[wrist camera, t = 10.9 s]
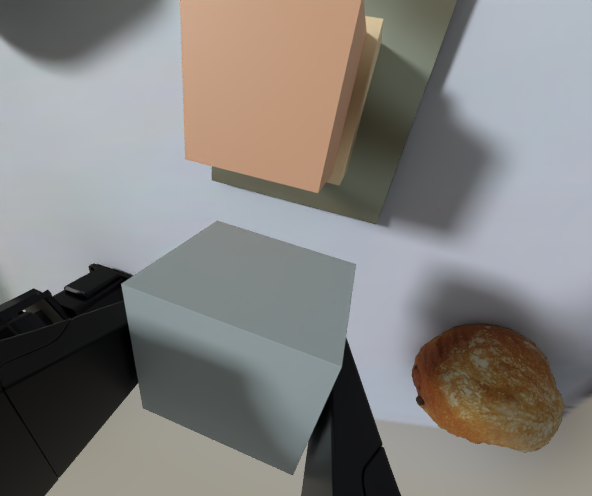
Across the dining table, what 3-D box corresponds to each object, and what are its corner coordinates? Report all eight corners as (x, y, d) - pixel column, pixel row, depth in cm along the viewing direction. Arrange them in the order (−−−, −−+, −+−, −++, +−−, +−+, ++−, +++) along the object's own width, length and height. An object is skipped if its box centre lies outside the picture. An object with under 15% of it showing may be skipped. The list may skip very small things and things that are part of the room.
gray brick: (319, 361, 11) (292, 475, 7) (212, 321, 12) (143, 407, 8) (356, 264, 8) (341, 366, 5) (217, 220, 9) (121, 283, 6)
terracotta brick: (332, 174, 14) (317, 193, 10) (229, 149, 15) (185, 159, 11) (366, 32, 11) (362, -7, 7) (236, 12, 12) (178, -32, 8)
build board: (376, 219, 19) (376, 248, 15) (218, 177, 21) (178, 193, 17) (460, -18, 13) (503, -84, 9) (225, -46, 15) (164, -112, 11)
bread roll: (520, 361, 25) (629, 433, 18) (436, 423, 26) (505, 519, 18) (469, 287, 24) (566, 331, 16) (380, 356, 24) (430, 431, 16)
